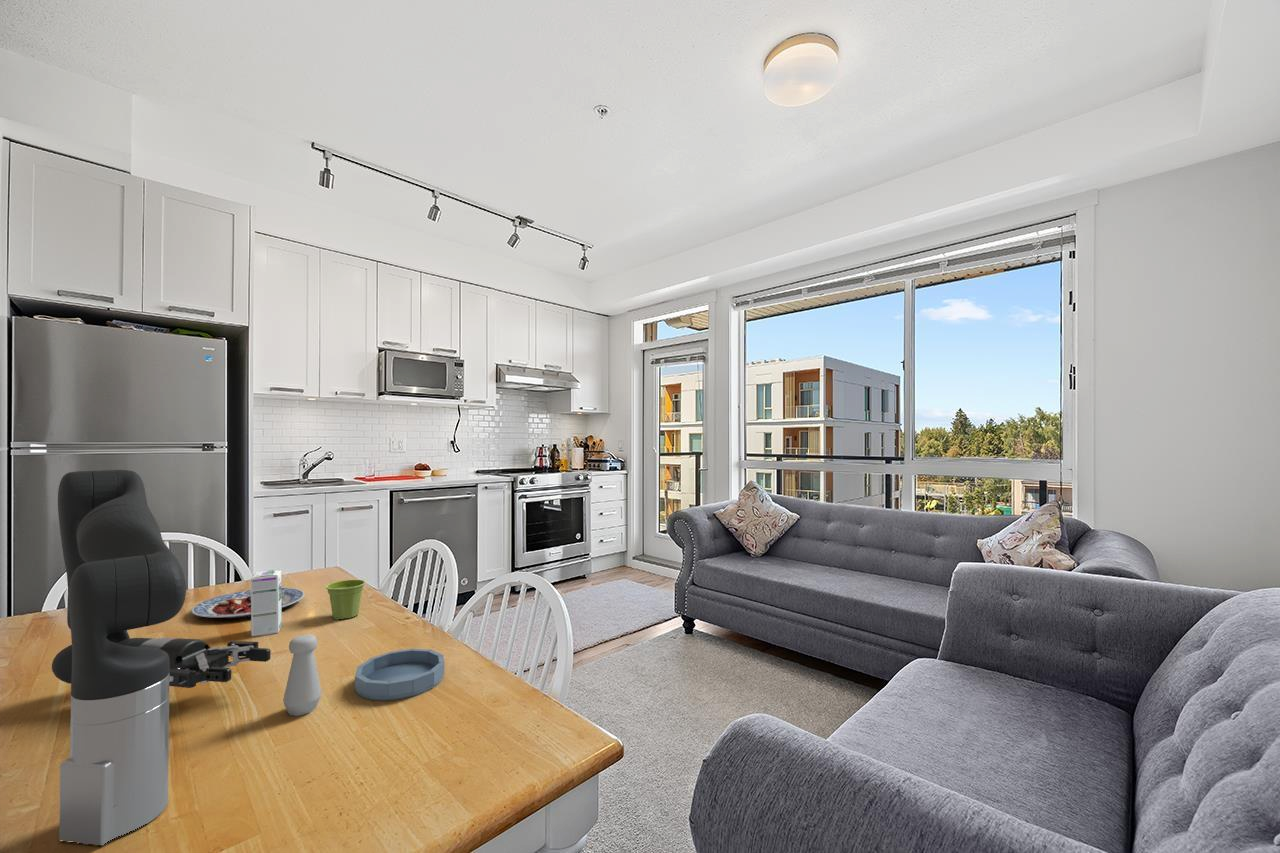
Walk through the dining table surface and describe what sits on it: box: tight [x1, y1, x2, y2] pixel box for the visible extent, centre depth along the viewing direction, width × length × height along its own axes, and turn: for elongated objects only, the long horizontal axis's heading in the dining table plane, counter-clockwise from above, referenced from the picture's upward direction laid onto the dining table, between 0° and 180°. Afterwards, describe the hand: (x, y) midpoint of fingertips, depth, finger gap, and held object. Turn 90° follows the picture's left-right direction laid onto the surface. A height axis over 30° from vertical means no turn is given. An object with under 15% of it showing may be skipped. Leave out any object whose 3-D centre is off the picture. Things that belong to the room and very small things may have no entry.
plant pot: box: [325, 579, 366, 620], centre depth 148 cm, size 9×9×9 cm
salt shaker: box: [283, 634, 323, 717], centre depth 98 cm, size 6×6×13 cm
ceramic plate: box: [191, 587, 305, 619], centre depth 154 cm, size 26×26×3 cm
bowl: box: [354, 648, 445, 702], centre depth 109 cm, size 16×16×3 cm
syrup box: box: [250, 569, 283, 637], centre depth 136 cm, size 6×6×14 cm
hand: (250, 664), depth 99 cm, fingers open, 8 cm apart
